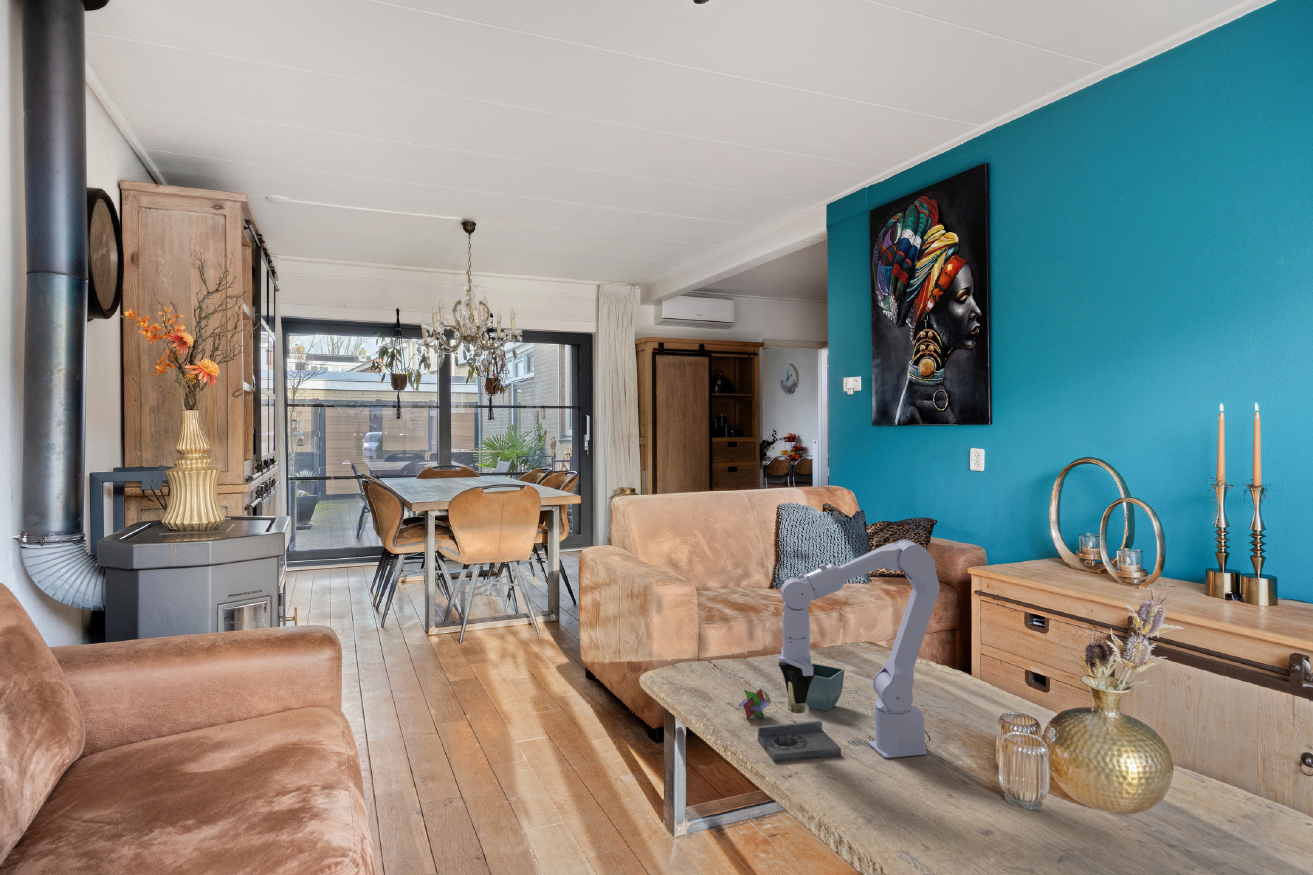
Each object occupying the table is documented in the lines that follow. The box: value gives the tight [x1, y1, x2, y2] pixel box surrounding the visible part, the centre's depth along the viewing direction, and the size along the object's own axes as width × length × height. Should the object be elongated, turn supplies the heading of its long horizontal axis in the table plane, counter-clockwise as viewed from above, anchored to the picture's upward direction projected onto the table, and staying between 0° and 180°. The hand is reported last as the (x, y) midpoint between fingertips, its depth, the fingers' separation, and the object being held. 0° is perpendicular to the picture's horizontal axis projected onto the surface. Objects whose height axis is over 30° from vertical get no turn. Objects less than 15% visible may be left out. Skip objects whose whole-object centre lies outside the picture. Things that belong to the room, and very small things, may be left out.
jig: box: [757, 720, 842, 763], centre depth 159 cm, size 14×11×3 cm
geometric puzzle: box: [738, 688, 772, 721], centre depth 177 cm, size 7×7×8 cm
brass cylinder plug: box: [787, 680, 807, 714], centre depth 159 cm, size 4×4×6 cm
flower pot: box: [806, 662, 845, 712], centre depth 183 cm, size 9×9×9 cm
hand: (796, 699), depth 159 cm, fingers closed on brass cylinder plug, 4 cm apart
